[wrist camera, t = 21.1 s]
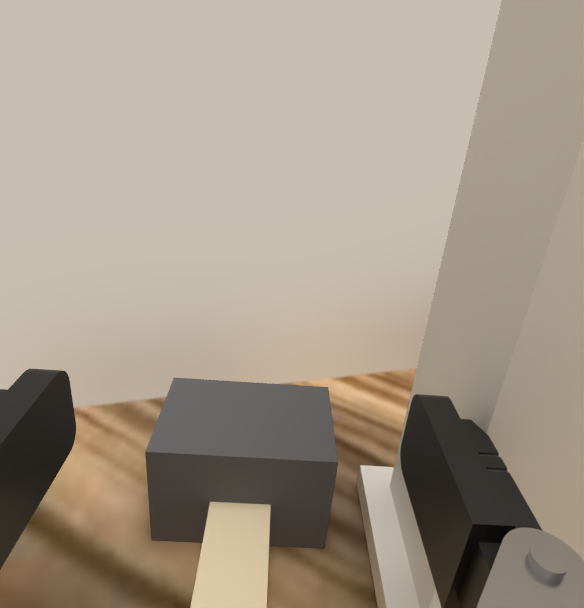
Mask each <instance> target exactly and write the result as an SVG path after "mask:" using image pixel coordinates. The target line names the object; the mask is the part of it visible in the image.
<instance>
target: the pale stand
mask: <svg viewBox="0 0 584 608" xmlns="http://www.w3.org/2000/svg"><path fill="white" fill-rule="evenodd" d="M415 394H421V395H437V396H448V397H449V398H450V399H451V401H452V403H453V405H454V407H455V409H456V411H457V413H458V415H459V416H460V418H461V419H471V420H472V421H473V422H474V423H475V424H476V425H478V426H479V427H480V428H481V429H482V430H483V431H484V432H485V433H486V434H487V435H489V437H490V439H491V441H492V442H493V444H494V446H495V448H496V449H497V451H498V453H499V457H501V458H502V460H503V462H504V464H505V465H506V467H507V472H509V473H510V474H511V476H512V478H513V479H514V481H515V483H516V485H517V486H518V488H519V490H520V492H521V494H522V495H523V497H524V499H525V501H526V502H527V504H528V506H529V508H530V509H531V511H532V513H533V515H534V516H535V518H536V520H537V522H538V523H539V525H540V527H541V529H542V530H543V531H544V532H547V533H549V534H551V535H553V536H555V537H557V538H559V539H560V540H562V541H563V542H565V543H566V544H567V545H569V546H570V547H571V548H572V549H573V550H574V551H575V552H576V553H577V554H578V555H579V556H580V557H581V558H582V559H583V561H584V0H502V2H501V6H500V11H499V15H498V20H497V24H496V28H495V33H494V37H493V41H492V45H491V50H490V54H489V58H488V63H487V68H486V72H485V76H484V80H483V85H482V89H481V93H480V97H479V102H478V106H477V110H476V115H475V119H474V124H473V128H472V132H471V136H470V141H469V146H468V149H467V154H466V158H465V162H464V167H463V171H462V175H461V180H460V184H459V188H458V193H457V197H456V202H455V206H454V210H453V214H452V219H451V223H450V227H449V232H448V236H447V240H446V245H445V249H444V253H443V257H442V262H441V266H440V270H439V275H438V279H437V283H436V288H435V292H434V297H433V301H432V305H431V309H430V314H429V318H428V323H427V327H426V331H425V335H424V340H423V344H422V349H421V353H420V357H419V362H418V366H417V370H416V374H415V379H414V383H413V387H412V392H411V396H410V400H409V405H408V409H407V413H406V418H405V422H404V426H403V431H402V435H401V439H400V444H399V448H398V452H397V457H396V461H395V465H394V467H381V466H363V465H360V469H359V474H358V479H357V489H358V495H359V500H360V506H361V512H362V518H363V524H364V530H365V536H366V542H367V548H368V554H369V560H370V565H371V571H372V577H373V583H374V589H375V595H376V601H377V607H378V608H441V604H440V601H439V598H438V594H437V591H436V587H435V584H434V580H433V577H432V573H431V570H430V567H429V563H428V560H427V556H426V553H425V549H424V546H423V543H422V539H421V536H420V532H419V529H418V525H417V522H416V518H415V515H414V512H413V508H412V505H411V501H410V498H409V494H408V491H407V488H406V484H405V481H404V477H403V474H402V469H401V461H400V452H401V444H402V439H403V435H404V431H405V427H406V422H407V418H408V414H409V410H410V405H411V401H412V398H413V396H414V395H415Z"/></svg>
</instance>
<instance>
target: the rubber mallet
mask: <svg viewBox="0 0 584 608" xmlns="http://www.w3.org/2000/svg"><path fill="white" fill-rule="evenodd" d="M146 466H147V481H148V495H149V509H150V523H151V537H152V540H155V541H177V542H198V543H202V548H201V553H200V559H199V564H198V569H197V575H196V580H195V586H194V591H193V596H192V602H191V607H190V608H267V586H268V560H269V546H284V547H305V548H324V546H325V540H326V534H327V527H328V521H329V515H330V509H331V503H332V496H333V490H334V484H335V478H336V472H337V466H338V458H337V451H336V443H335V436H334V428H333V421H332V414H331V406H330V399H329V391H328V387H314V386H298V385H282V384H266V383H249V382H233V381H216V380H201V379H184V378H174V379H173V382H172V384H171V387H170V390H169V392H168V395H167V397H166V400H165V402H164V405H163V408H162V410H161V413H160V415H159V418H158V421H157V423H156V426H155V428H154V431H153V434H152V436H151V439H150V441H149V444H148V446H147V449H146Z"/></svg>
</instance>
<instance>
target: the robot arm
mask: <svg viewBox="0 0 584 608" xmlns="http://www.w3.org/2000/svg"><path fill="white" fill-rule="evenodd" d="M75 434H76V422H75V415H74V408H73V402H72V395H71V388H70V381H69V377H68V374H67V373H66V372H65V371H58V370H43V369H42V370H41V369H28V370H26V371H25V372H24V373H23V374H22V375H21V376H20V377H19V378H18V379H17V381H16V382H15V383H14V384H13V385H12V386H11V387H10V388H9V389H8V390H0V569H1V567H2V566H3V564H4V562H5V561H6V559H7V557H8V556H9V554H10V552H11V551H12V549H13V547H14V546H15V544H16V542H17V541H18V539H19V537H20V536H21V534H22V532H23V530H24V529H25V527H26V525H27V524H28V522H29V520H30V519H31V517H32V515H33V514H34V512H35V510H36V509H37V507H38V505H39V504H40V502H41V500H42V499H43V497H44V495H45V494H46V492H47V490H48V489H49V487H50V485H51V483H52V482H53V480H54V478H55V477H56V475H57V473H58V472H59V470H60V468H61V467H62V465H63V463H64V462H65V460H66V458H67V457H68V455H69V453H70V451H71V449H72V447H73V444H74V440H75ZM400 461H401V469H402V474H403V477H404V481H405V484H406V488H407V491H408V494H409V498H410V501H411V505H412V508H413V512H414V515H415V518H416V522H417V525H418V529H419V532H420V536H421V539H422V543H423V546H424V549H425V553H426V556H427V560H428V563H429V567H430V570H431V573H432V577H433V580H434V584H435V587H436V591H437V594H438V598H439V601H440V604H441V608H584V561H583V559H582V558H581V557H580V556H579V555H578V554H577V553H576V552H575V551H574V550H573V549H572V548H571V547H570V546H569V545H567V544H566V543H565V542H563V541H562V540H560V539H559V538H557V537H555V536H553V535H551V534H549V533H547V532H544V531H543V530H542V529H541V527H540V525H539V523H538V522H537V520H536V518H535V516H534V515H533V513H532V511H531V509H530V508H529V506H528V504H527V502H526V501H525V499H524V497H523V495H522V494H521V492H520V490H519V488H518V486H517V485H516V483H515V481H514V479H513V478H512V476H511V474H510V473H509V472H507V467H506V465H505V464H504V462H503V460H502V458H501V457H499V453H498V451H497V449H496V448H495V446H494V444H493V442H492V441H491V439H490V437H489V435H487V434H486V433H485V432H484V431H483V430H482V429H481V428H480V427H479V426H478V425H476V424H475V423H474V422H473V421H472V420H471V419H461V418H460V416H459V415H458V413H457V411H456V409H455V407H454V405H453V403H452V401H451V399H450V398H449V397H448V396H437V395H421V394H415V395H414V396H413V398H412V401H411V405H410V410H409V414H408V418H407V422H406V427H405V431H404V435H403V439H402V444H401V452H400Z"/></svg>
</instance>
